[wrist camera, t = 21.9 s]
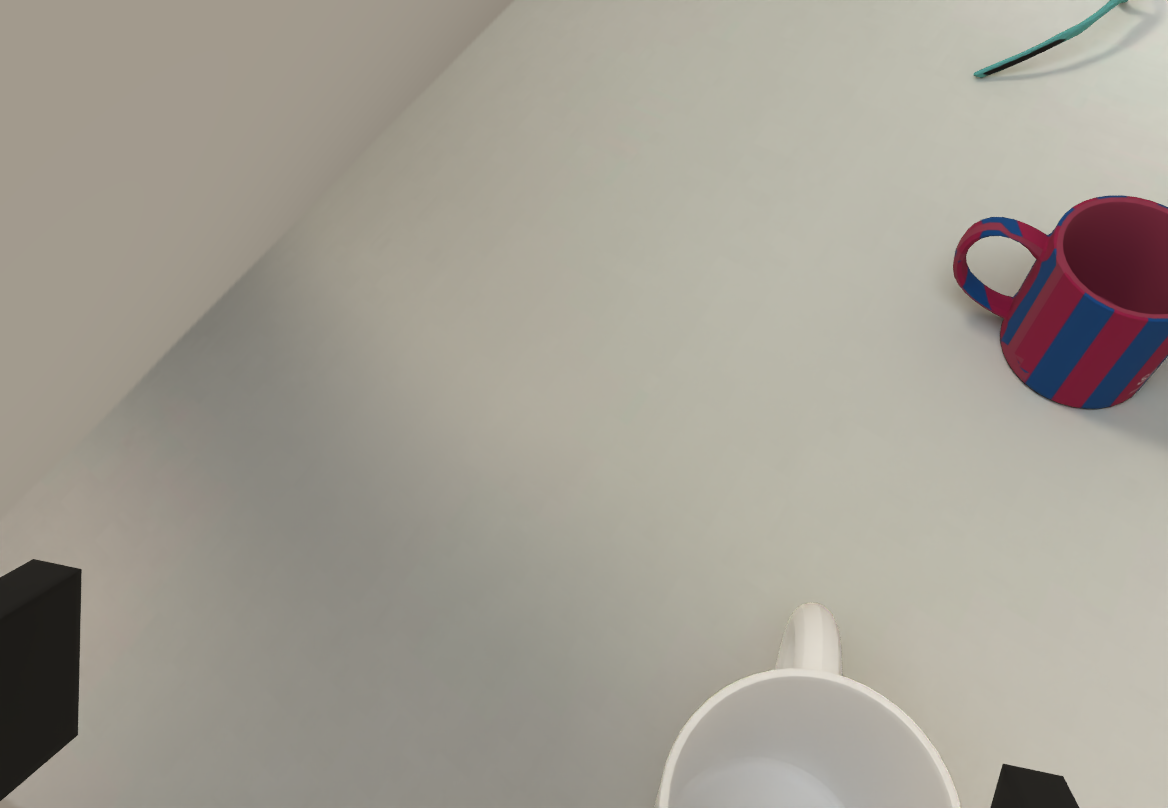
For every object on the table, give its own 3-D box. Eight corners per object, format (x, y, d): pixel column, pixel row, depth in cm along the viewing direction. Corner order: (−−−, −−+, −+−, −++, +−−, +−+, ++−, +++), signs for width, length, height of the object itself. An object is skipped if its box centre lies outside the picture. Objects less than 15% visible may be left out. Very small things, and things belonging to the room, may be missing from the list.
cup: (1123, 434, 46) (1200, 347, 40) (911, 339, 48) (954, 244, 43) (1164, 329, 48) (1241, 233, 43) (962, 245, 51) (1009, 145, 45)
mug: (684, 634, 41) (709, 526, 32) (894, 681, 40) (978, 582, 31) (621, 968, 35) (629, 946, 26) (866, 1034, 34) (960, 1034, 25)
